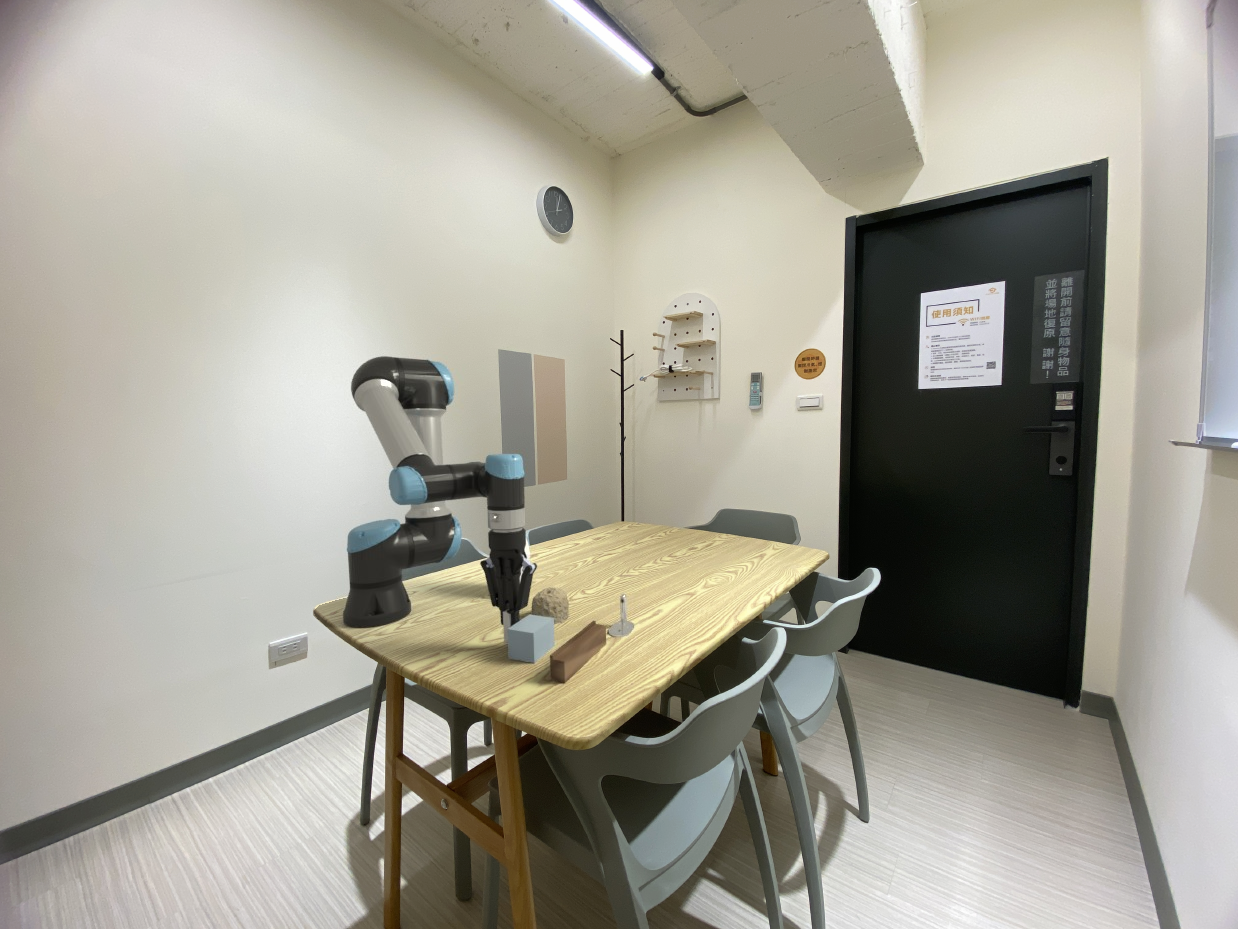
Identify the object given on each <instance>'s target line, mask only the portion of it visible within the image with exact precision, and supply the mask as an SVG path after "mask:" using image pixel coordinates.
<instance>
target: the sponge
mask: <svg viewBox="0 0 1238 929" xmlns="http://www.w3.org/2000/svg"><path fill="white" fill-rule="evenodd" d="M531 600H532V601H531V611H530V612H531V614H530V615H537V616H544V617H551V618H554V625H558V624H562V623H564V622H565V621H566V620H567V619H569V617H570V616H569V614H570V611H569V608H570V605H569V604H570V602H569V599H568V595H567V592H565V590H564V589H562V588H560V587H559V588H558V587H554V586H553V587H546V588H544V589H542V590H540V591H538V592H537V593H536V594H535V596H534V597H533V598H532V599H531Z"/></svg>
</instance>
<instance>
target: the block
mask: <svg viewBox="0 0 1238 929" xmlns="http://www.w3.org/2000/svg"><path fill="white" fill-rule="evenodd" d="M507 630H508V643H507V656H508V659H510V660H515V661H520V662H525V663H531V664H535V663H537V662H538V661H539V660H540V659H541V658H542V657H544V656H545V655H546V654H547V653H548V652H549V651H550V650H551V649H553V648H554V647H555V646H556V645H555V644H556V643H555V624H554V618H551V617H544V616H537V615H531V614H527V615H526V616H525V617H523V618H522V619H520V621H519V622H517V623H516V624H514V625H513V626H511V627H510V628H508V629H507Z"/></svg>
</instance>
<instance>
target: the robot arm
mask: <svg viewBox="0 0 1238 929" xmlns="http://www.w3.org/2000/svg"><path fill="white" fill-rule="evenodd" d="M350 384H351V385H350V392H351V397H352V398H353V401H354V402H355V404H356V407H358V409H360V410H361V411H362V412H364V413H365V414H366V416H367V419H368V420H369V422H370V425H371V427H372V428H373V430H374V433H375V434H376V436H377V439H378V440H379V442H380V445H381V446H382V449H383V451H384V452H385V455H386V457H387V458H388V461H389V463H390V464H391V467H392V468H393V469H392V470H391V472H389V477H388V490H389V492H390V494H389V495H390V498H391V500H392V501H393V502H394V503H395V504H396V505H399V506H408V505H409V506H410V509H409V510H408V511H407V512H406V514H404V523H400V521H399V520H398V519H395V518H387V519H380V520H375V521H370V522H366V523H363V524H360V525H357V526H355V527H354V528H352V529H351V530H350V531H349V532H348V534H347V541H346V542H347V543H346V544H347V546H346V552H347V558H348V559H347V562H348V577H349V580H348V581H349V592H348V595H347V599H346V603H345V607H344V610H343V613H342V618H343V620H342V621H343V624H344V625H345V626H347V627H351V628H371V627H378V626H384V625H387V624H391V623H395V622H397V621H399V620H401V619H404V618H405V617H407V616H409V615H410V613H411V611H412V602H411V599H410V597H409V594H408V591H407V590H406V587H405V584H404V582H403V570H406V569H410V568H417V567H421V566H426V565H430V564H440V563H441V562H444V561H448V560H451V559H452V558H454V557H455V556H456V555H457V553H458V551H459V550H460V547H461V544H462V534H463V533H462V528H461V526H460V524H461V522H460V521H459V519H458V518H457V517H455V516H452V510H451V509H449V508H448V507H447V506H446V501H454V500H455V501H456V500H463V499H473V498H486V505H487V527H488V529H490V530H489V531H488V532H487V533H488V534H487V535H488V536H487V538H488V548H489V549H491V552H490V551H489V555H488V556H489V557H487V558H486V559H483V560H481V561H480V564H479V565H480V566H481V568H482V571H483V572H484V577H485V580H486V585H487V588H488V594H489V598H490V599H489V600H490V603H491V606H492V607H494V608H495V607H497V608H498V610H499V611H500V612H499V614H500V624H501V626H502V627H503V643H504V644H508V630H507V629H508V628H510V627H511V626H513V625H514V624H516V623H517V622H519V621H520V620H521V618H520V617H521V616H520V611H521V610H523V609H524V608H527V607H528V605H529V599H530V594H531V588H532V582H533V576H534V573H535V572H536V570H537V568H538V565H537V563H536V562H534V563H532V562H531V561H530V562H529V561H528V560H527V555H526V553H525V546H526V539H527V537H526V536H527V535H526V534H527V532H526V531H527V530H526V529H525V528H524V527H525V526H526V506H525V502H526V501H525V470H524V461H523V457H522V456H521V455H520V454H519V453H497V454H496V453H494V454H488V455H487V456H486V457H485V462H481V461H469V462H466V463H453V464H444V456H443V453H444V452H443V438H442V437H443V434H442V421H441V420H442V416H443V415H444V414H446V412H447V406H449V405H451V403H453V400H454V395H455V382H454V379H453V375H452V373H451V372H450V370H449V368H447V366H446V365H445V364H444V363H442V362H440V361H433V360H429V359H418V358H408V357H394V356H386V355H382V356H381V355H380V356H377V357H372V358H370V359H368V360H367V361H365V362H364V363H362V364H361V365H360V366H359V367H358V369H357V370H356V371H355V373H354V374H353V377H352V378H351V382H350ZM522 566H523V569H522V572H523V573H522V575H521V568H522ZM520 576H521V580H520Z"/></svg>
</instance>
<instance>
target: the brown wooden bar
mask: <svg viewBox="0 0 1238 929" xmlns="http://www.w3.org/2000/svg"><path fill="white" fill-rule="evenodd" d="M606 645H607V625H606V624H599V623H596V620H592V621H591V622H590V623H588V624H587V625H586V626H585V627H583V628H582V629H581V630H579V631H578V632H577V633H576V634H575V635H574V636H572V637H571V638H569V640H567V641H566V642H565V643H564V644H562V645H561V646H560V647H558V648H557V649H556V650H555V651H554V652H552V653H551V654H549V664H550V666H549V668H550V671H549V672H550V673H549V674H550V680H551V681H554V682H558V683H561V684H566V683H567V682H568V681H569V680H571V679H572V677H574V676H575V675H576V673H577V672H579V671H580V669H582V668H583V667H584V666H585V665H586V664H587V663H588V662H589V661H591V659H592V658H593V657H594V656H595V655H596V654H598V653H599V651H600V650H601V649H603V648H604V647H605V646H606Z"/></svg>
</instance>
